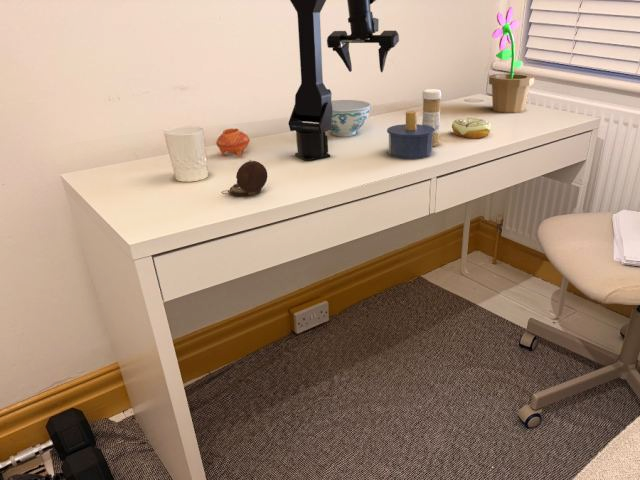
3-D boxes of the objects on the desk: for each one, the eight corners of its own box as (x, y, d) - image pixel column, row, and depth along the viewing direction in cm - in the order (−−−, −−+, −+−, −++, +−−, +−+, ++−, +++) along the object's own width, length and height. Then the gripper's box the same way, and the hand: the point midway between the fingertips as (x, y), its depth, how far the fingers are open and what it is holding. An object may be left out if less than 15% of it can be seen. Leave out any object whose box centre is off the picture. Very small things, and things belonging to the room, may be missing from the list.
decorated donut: (460, 140, 146) (461, 126, 145) (445, 131, 155) (446, 117, 154) (496, 137, 149) (498, 123, 147) (479, 128, 158) (480, 115, 156)
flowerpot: (505, 103, 191) (514, 6, 177) (539, 110, 181) (552, 7, 167) (477, 109, 183) (484, 7, 169) (511, 116, 173) (522, 8, 159)
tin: (405, 161, 129) (405, 138, 127) (381, 152, 137) (380, 130, 134) (440, 154, 134) (441, 132, 132) (415, 145, 142) (415, 124, 139)
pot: (259, 153, 135) (250, 127, 131) (231, 166, 132) (221, 140, 127) (244, 146, 140) (235, 120, 136) (217, 158, 137) (207, 133, 133)
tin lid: (405, 142, 126) (405, 119, 124) (378, 132, 135) (377, 111, 132) (444, 135, 132) (445, 113, 129) (415, 126, 140) (416, 105, 138)
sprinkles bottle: (430, 141, 145) (432, 87, 139) (442, 145, 142) (445, 90, 136) (417, 144, 143) (418, 89, 136) (429, 148, 140) (431, 92, 133)
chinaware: (331, 142, 145) (330, 112, 141) (308, 131, 156) (306, 103, 153) (381, 135, 152) (380, 106, 148) (355, 125, 163) (354, 98, 159)
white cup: (172, 184, 115) (162, 136, 111) (173, 173, 122) (164, 127, 117) (211, 181, 117) (203, 133, 112) (210, 170, 124) (203, 125, 119)
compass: (253, 185, 114) (248, 150, 111) (270, 195, 109) (266, 158, 105) (216, 193, 110) (210, 156, 107) (232, 204, 105) (227, 166, 101)
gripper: (402, 1, 147) (406, 61, 157) (336, 2, 152) (344, 60, 162) (390, 13, 139) (395, 76, 149) (321, 14, 144) (331, 75, 154)
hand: (366, 71), depth 154 cm, fingers open, 9 cm apart
